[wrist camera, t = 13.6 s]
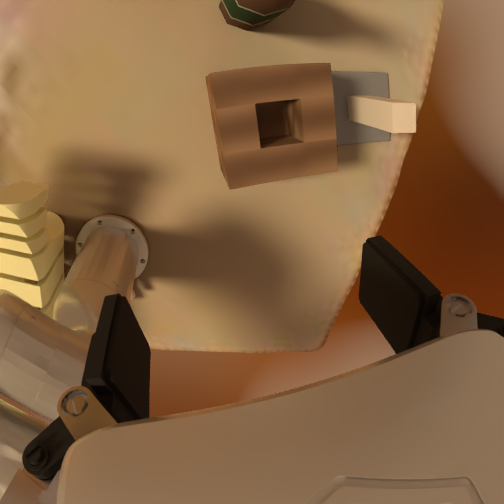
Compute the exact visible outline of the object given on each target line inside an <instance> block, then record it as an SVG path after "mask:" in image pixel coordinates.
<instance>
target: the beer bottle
mask: <svg viewBox="0 0 504 504" xmlns="http://www.w3.org/2000/svg"><path fill="white" fill-rule="evenodd" d="M294 1H295V0H221V2H220V5H219V8H220V10H221V12H222V14H223V16H224V18H225V20H226V22H227V24H230V25H233V26H236V27H239V28H241V29H244V30H249V29H252V28H255V27H258V26H261V25H264V24H267V23H269V22H270V21H271V20H273V19H274V18H276V17H277V16H278V15H280V14H281V13H283V12H284V11H286V10H287V9H289V8H290V7H291V6H292V5H293V3H294Z"/></svg>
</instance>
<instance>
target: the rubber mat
mask: <svg viewBox="0 0 504 504" xmlns="http://www.w3.org/2000/svg"><path fill="white" fill-rule="evenodd" d="M331 74H332V84H333V95H334V107H335V121H336V137H337V145H346V144H356V143H366V142H378V141H390V132H387V131H384V130H381V129H378V128H375V127H371V126H368V125H365V124H361V123H358V122H354V121H351V120H349V115H348V99H347V96H363V95H369V96H376V97H383V98H389V90H388V75H387V73H382V72H331Z"/></svg>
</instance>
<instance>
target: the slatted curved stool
mask: <svg viewBox="0 0 504 504" xmlns="http://www.w3.org/2000/svg"><path fill="white" fill-rule="evenodd" d="M49 187H50V185H46V184H39V183H32V182H26V181H20V182H18V183H15V184H13V185H9V186H5V187H0V289H4V290H7V291H10V292H12V293H13V294H15V295H17V296H18V297H20V298H21V299H23V300H24V301H26V302H28V303H29V304H31V305H32V306H34V307H35V308H37V309H38V310H40V311H41V312H43V313H44V314H46V315H48V316H49V317H51V318H52V319H53V310H54V304H55V301H56V298H57V296H58V294H59V292H60V289H61V287H62V285H63V283H64V281H65V280H64V246H63V245H64V224H63V221H62V220H61V218H60V217H59V216H58V215H57V214H55V213H53V212H49V211H47V208H42V206H43V205H44V204H45V203H46V202H47V201H48V194H49Z"/></svg>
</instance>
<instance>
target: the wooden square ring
mask: <svg viewBox="0 0 504 504" xmlns="http://www.w3.org/2000/svg"><path fill="white" fill-rule="evenodd" d="M206 83H207V89H208V95H209V101H210V107H211V113H212V119H213V125H214V131H215V137H216V143H217V149H218V155H219V161H220V167H221V170H222V173H223V175H224V177H225V180H226V182H227V184H228V186H229V189H236V188H241V187H246V186H251V185H256V184H262V183H267V182H273V181H279V180H285V179H290V178H296V177H303V176H309V175H315V174H322V173H328V172H335V171H338V158H337V137H336V121H335V107H334V95H333V84H332V74H331V65H330V63H306V64H287V65H273V66H262V67H252V68H244V69H236V70H228V71H222V72H215V73H211V74H209V75H208V76H206Z"/></svg>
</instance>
